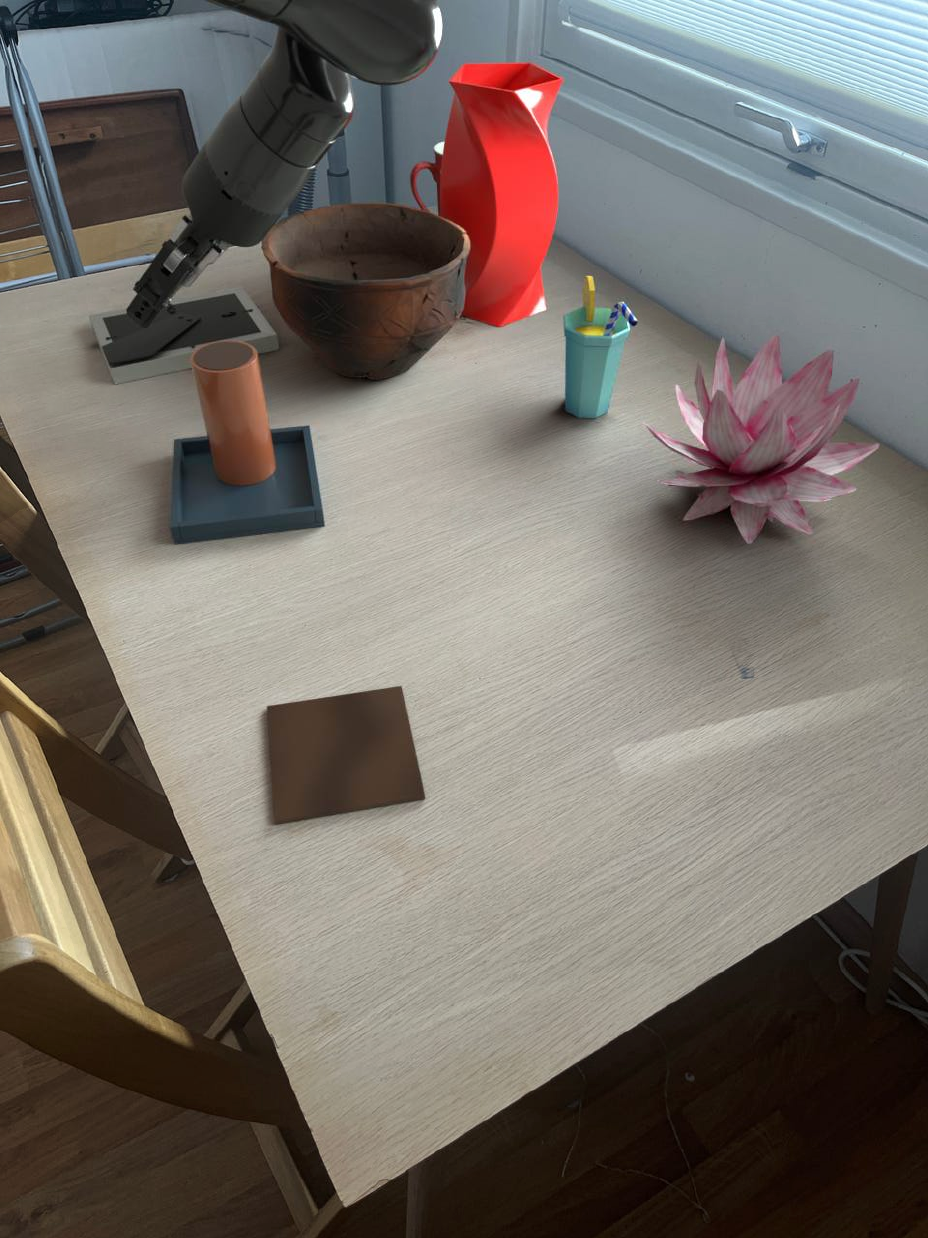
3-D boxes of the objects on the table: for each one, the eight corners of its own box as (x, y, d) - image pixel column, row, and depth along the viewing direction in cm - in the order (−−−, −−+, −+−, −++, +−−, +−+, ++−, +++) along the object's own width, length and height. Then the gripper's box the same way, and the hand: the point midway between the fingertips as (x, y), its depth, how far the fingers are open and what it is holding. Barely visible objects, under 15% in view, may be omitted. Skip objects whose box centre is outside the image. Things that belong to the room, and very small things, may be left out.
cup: (647, 435, 100) (669, 308, 89) (585, 447, 98) (601, 320, 88) (593, 376, 109) (608, 256, 99) (535, 387, 107) (545, 265, 97)
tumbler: (215, 489, 91) (189, 374, 82) (215, 454, 95) (190, 342, 86) (278, 482, 92) (258, 368, 83) (274, 448, 96) (256, 336, 87)
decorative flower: (776, 431, 101) (814, 304, 90) (891, 545, 86) (953, 411, 76) (604, 460, 96) (623, 330, 86) (695, 586, 82) (731, 449, 71)
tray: (174, 544, 85) (169, 527, 84) (177, 455, 96) (173, 438, 95) (324, 526, 88) (322, 509, 86) (311, 441, 99) (309, 424, 97)
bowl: (509, 346, 115) (515, 228, 104) (388, 429, 100) (381, 301, 90) (364, 296, 125) (356, 183, 114) (236, 364, 111) (213, 243, 100)
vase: (555, 322, 120) (576, 89, 100) (452, 332, 117) (452, 95, 98) (524, 276, 130) (537, 57, 111) (429, 284, 128) (425, 62, 108)
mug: (484, 227, 144) (486, 136, 134) (496, 249, 137) (499, 155, 128) (408, 232, 142) (405, 140, 133) (416, 254, 136) (413, 160, 126)
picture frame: (114, 384, 107) (279, 349, 114) (108, 363, 105) (276, 328, 112) (92, 329, 117) (245, 300, 124) (86, 309, 115) (241, 281, 122)
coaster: (275, 825, 63) (274, 822, 63) (267, 709, 71) (266, 706, 71) (425, 799, 65) (425, 796, 65) (402, 688, 73) (401, 685, 72)
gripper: (249, 105, 73) (161, 235, 84) (170, 164, 64) (82, 302, 74) (318, 176, 76) (225, 293, 86) (252, 242, 66) (157, 365, 77)
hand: (159, 297), depth 80 cm, fingers open, 8 cm apart
